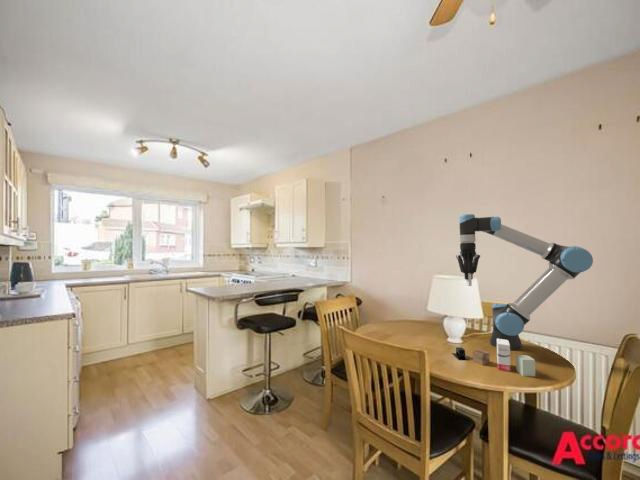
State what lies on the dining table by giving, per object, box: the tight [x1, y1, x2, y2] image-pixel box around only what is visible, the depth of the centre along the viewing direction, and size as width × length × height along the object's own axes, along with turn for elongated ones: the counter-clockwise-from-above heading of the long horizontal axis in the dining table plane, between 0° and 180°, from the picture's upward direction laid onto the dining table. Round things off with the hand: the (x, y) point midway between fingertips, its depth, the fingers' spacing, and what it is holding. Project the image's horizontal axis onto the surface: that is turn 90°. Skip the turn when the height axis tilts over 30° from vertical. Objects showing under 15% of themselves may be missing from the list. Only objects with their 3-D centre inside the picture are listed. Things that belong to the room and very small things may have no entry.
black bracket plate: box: [451, 346, 470, 361], centre depth 145 cm, size 12×7×5 cm, turn 176°
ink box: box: [496, 339, 512, 372], centre depth 132 cm, size 8×5×12 cm, turn 152°
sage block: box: [515, 354, 536, 377], centre depth 125 cm, size 5×5×7 cm
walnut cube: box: [472, 349, 491, 366], centre depth 138 cm, size 5×5×5 cm
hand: (468, 285), depth 157 cm, fingers closed
